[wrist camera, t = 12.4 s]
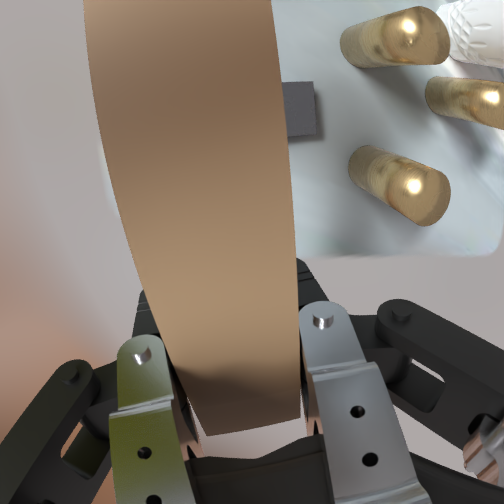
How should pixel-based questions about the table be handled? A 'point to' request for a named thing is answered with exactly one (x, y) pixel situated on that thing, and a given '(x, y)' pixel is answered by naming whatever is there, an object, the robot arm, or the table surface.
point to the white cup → (475, 31)
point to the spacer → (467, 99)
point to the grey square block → (299, 108)
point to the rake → (205, 194)
